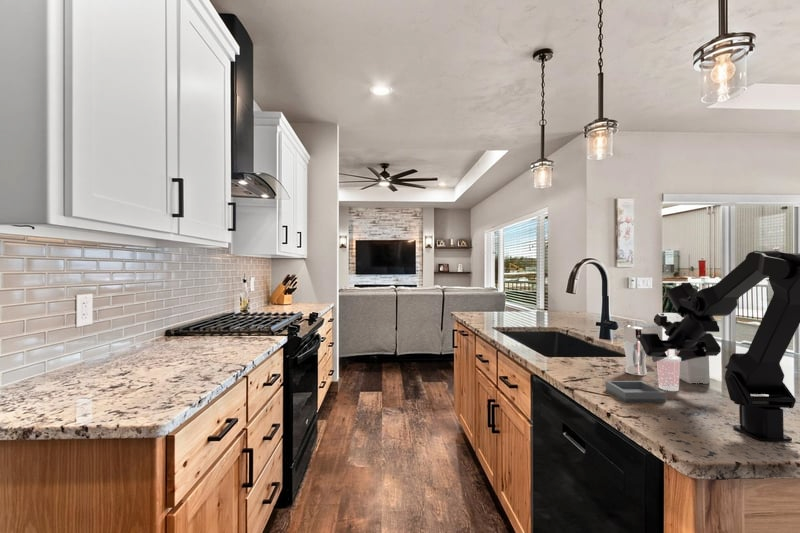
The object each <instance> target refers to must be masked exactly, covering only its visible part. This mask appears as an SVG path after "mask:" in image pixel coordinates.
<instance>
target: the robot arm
mask: <svg viewBox="0 0 800 533" xmlns="http://www.w3.org/2000/svg"><path fill="white" fill-rule="evenodd" d="M766 278H768V282H769V284H770V287H771V290H772V292H773V294H772V296H771V298H770V301H769V304H768V306H767V308H766V310H765V313H764V314H763V316H762V319H761V321H760V323H759V326H758V328H757V330H756V332H755V335H754V337H753V339H752V341H751V343H750V345H749V348H748V350H747V351H746V352H745V353H743V352H742V353H741V352H740V353H737V352H735V353H732V354H731V355H730V356H729V359H728V360H729V361H728V363H727V364H726V365H725V366H724V368H725V369H726V371H725V374H724V380H725V385H726V390H727V392H728V395H729V400H730V401H732V402H733V403H734V404H735V405H738V406H739V407H738V409H739V410H738V412H739V424H734V425H732V428H733V429H735V430H736V431H739V432H741V433H743V434H745V435H747V436H749V437H752V438H753V439H755V440H757V441H760V442H761V441H762V442H763V441H764V442H765V441H766V442H767V441H768V442H774V441H775V442H777V441H778V442H779V441H780V442H781V441H782V442H784V441H785V442H787V441H789V442H791V441H793V437H791V436H789V435H787V434H784V432H785V431H784V428H785V427H784V409H787V408H788V409H794V407H795V404H796V398H795V397H794V395H793V394H792V392H791V391H790V390H789V388H788V387H787V385H786V384H785V382H784V379H785V374H784V371H783V368H782V366H781V364H780V363H781V361H782V358H784V355H785V354H786V351H787V349H788V347H789V345H790V343H791V341H792V339H793V338H794V335H795V333H796V331H797V330H798V327H799V326H800V252H797V253H794V252H784V251H779V250H777V249H776V250H775V249H773V250H769V249H768V250H753V251H751V252H748V253H747V254H746V256H745V259H744V260H743V261H741V262H740V263H739V264H738V265H736V267H735V268H733V269H732V270H731V271H730V272H729V273H727V275H725V276H724V277H723V278H721V280H719V281H718V282H717V283H716V284H714V285H711V286H708V287H705V288H702V289H700V290H698V291H695V289H694V286H693V284H691V282H681V283H680V285H676V286H674V287H672V288H670V289H669V290H668V291H667V292H666V293H667V297H668V299H669V300H670V302H671V304H672V305H673V308H674V309H675V310H676V312H661V313H659V312H658V313H657V314H656V315H654V317H653V323H655V325H656V326H658V327H662V328H664V329H665V331H664V334H665V336H666V337H667V336H668V337H667V339H668V340H667V339H665V340H664V339H662V340H661V337H660V336H659V335H658V333H656V332H651V333H650V332H647V333H642V334H641V336H640V337H639V338H638V339H639V341H640V343H641V345H642V347H643V349H644V351H645V353H646V356H648V357H651V360H652V362H653V363H657V361H659V360H662V359H664V358H666V357H667V350H668V349H669V350H675V349H676V350H677V351H680V352H679V353H678V355H677V356H678V357H681V361H685V360H690V359H695V358H700V357H705V356H709V357H710V356H711V357H713V356H714V357H716V356H718V355H719V354H720V353H721V352H722V348H721V347H722V346H720V344H719V343H718V341H717V340H716V339H715V337H714V336H713V334H712V333H719V332H720V326H719V325H718V321H717V320H716V319H715V317H728V316H729V315H731V313H732V312H733V311H734V310H735V309H736V308H737V307H738V300H739V299H740V298H741V297H742V296H743V295H745V294H746V293H747V292H750V290H752V289H753V288H754V287H756V286H757V285H758V284H760V283H761V282H762V281H763V280H765V279H766ZM680 314H681V315H680ZM682 315H684V316H682ZM704 350H706V351H705V352H704ZM759 395H761V396H759ZM763 395H764V396H763ZM765 395H767V396H765Z"/></svg>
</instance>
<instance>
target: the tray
mask: <svg viewBox="0 0 800 533" xmlns="http://www.w3.org/2000/svg"><path fill="white" fill-rule="evenodd" d="M605 391H607V392H608V393H610V394H611V395H613V396H615V397H616V398H618V399H619V400H621V401H623V402H624V403H666V392H665V391H664V390H662V389H660V388H657V387H655V386H653V385H651V384H649V383H647V382H645V381H643V380H606V381H605Z"/></svg>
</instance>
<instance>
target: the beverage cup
mask: <svg viewBox="0 0 800 533" xmlns="http://www.w3.org/2000/svg"><path fill="white" fill-rule="evenodd" d="M666 340H668V338H667V339H666ZM666 355H667V357H666V358H664V359H662V360H659V361H657V362H656V367H657V368H656V369H657V379H658V380H657V381H658V389H659V390H662V391H667V390H668V392H678V391H679V390H680V389H679V388H680V378H679V375H680V362H681V357H678V356H675V355H672V354H670V349H668V350H667V351H666Z"/></svg>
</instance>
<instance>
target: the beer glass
mask: <svg viewBox="0 0 800 533" xmlns="http://www.w3.org/2000/svg"><path fill="white" fill-rule="evenodd" d="M622 331H623V332H622V342H623V344H622V345H623V348H624V349H623V350H624V353H625V362H626V364H625V369H624V372H625V373H626V374H627V373H628V375H632V376H641V377H642V376H647V375H648V371H647V366H646V359H647V355H646V353H645V351H644V349H643V347H642V345H641V343H640V341H639V339H638V338H639V337H640V336H641V334H642V333H648V327H647V326H642V325H623V330H622Z"/></svg>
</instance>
